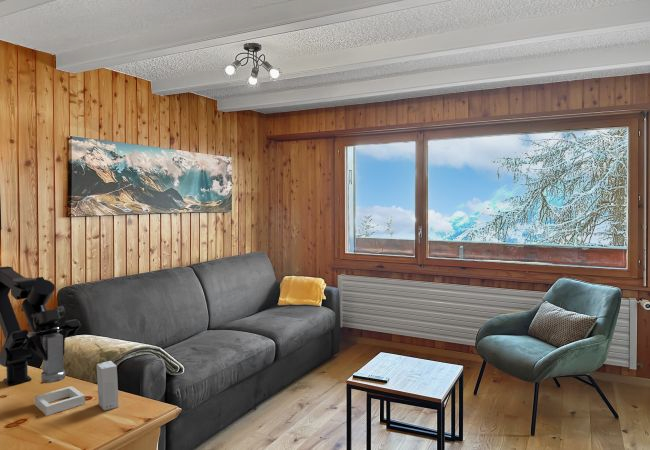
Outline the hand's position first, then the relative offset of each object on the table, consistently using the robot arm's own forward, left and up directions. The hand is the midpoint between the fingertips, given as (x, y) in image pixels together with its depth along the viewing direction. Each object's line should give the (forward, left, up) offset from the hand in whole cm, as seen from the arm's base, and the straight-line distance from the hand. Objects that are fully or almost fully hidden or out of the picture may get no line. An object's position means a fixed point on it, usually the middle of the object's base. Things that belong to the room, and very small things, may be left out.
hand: (55, 357), depth 134 cm
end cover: (-1, 0, -7) cm, 7 cm away
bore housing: (+2, 0, -13) cm, 13 cm away
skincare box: (+13, +9, -13) cm, 21 cm away
